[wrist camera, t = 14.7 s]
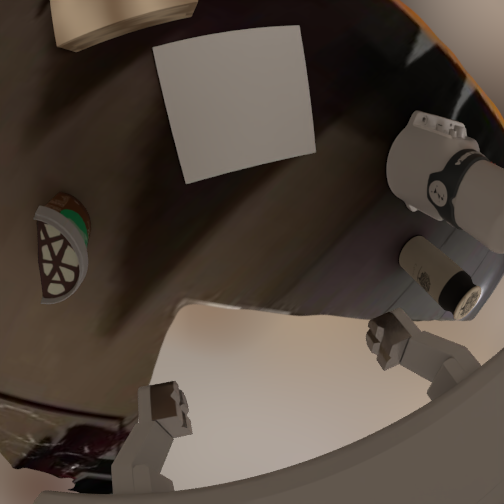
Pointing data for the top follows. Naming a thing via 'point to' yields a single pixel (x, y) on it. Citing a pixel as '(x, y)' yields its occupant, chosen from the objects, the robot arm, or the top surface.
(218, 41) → the white paper sheet
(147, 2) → the tan block
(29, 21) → the top surface
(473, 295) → the travel mug
